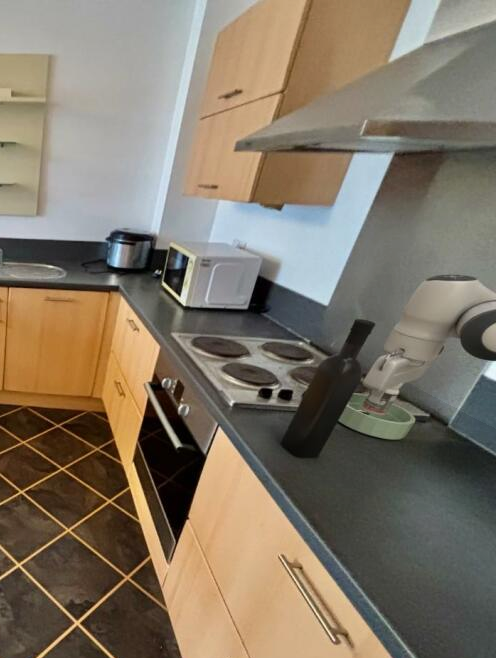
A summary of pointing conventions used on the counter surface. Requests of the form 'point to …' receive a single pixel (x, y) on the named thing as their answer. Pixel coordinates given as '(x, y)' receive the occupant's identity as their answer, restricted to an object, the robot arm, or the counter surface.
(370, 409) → the pill bottle
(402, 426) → the bowl
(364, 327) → the wine bottle
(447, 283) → the robot arm
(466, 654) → the counter surface
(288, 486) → the counter surface
